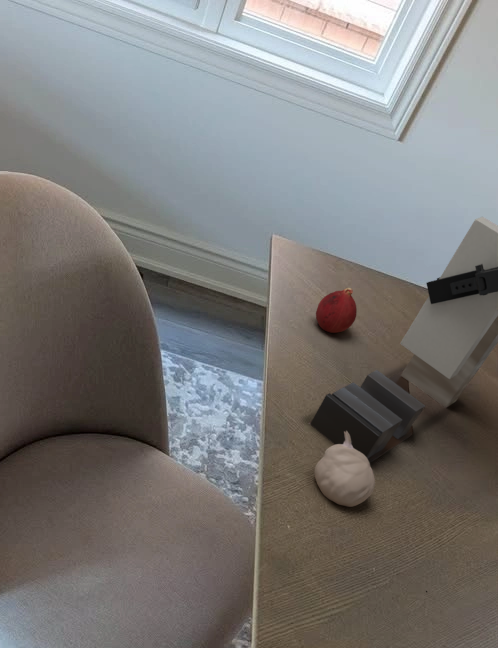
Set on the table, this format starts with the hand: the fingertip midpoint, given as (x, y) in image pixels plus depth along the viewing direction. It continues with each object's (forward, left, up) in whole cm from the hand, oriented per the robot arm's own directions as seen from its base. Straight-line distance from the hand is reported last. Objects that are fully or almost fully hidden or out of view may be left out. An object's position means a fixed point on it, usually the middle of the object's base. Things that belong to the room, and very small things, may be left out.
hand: (435, 290), depth 95 cm
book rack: (-2, +4, -17) cm, 18 cm away
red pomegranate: (+7, -13, -18) cm, 23 cm away
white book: (-3, +2, -8) cm, 9 cm away
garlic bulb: (+5, +23, -18) cm, 30 cm away
